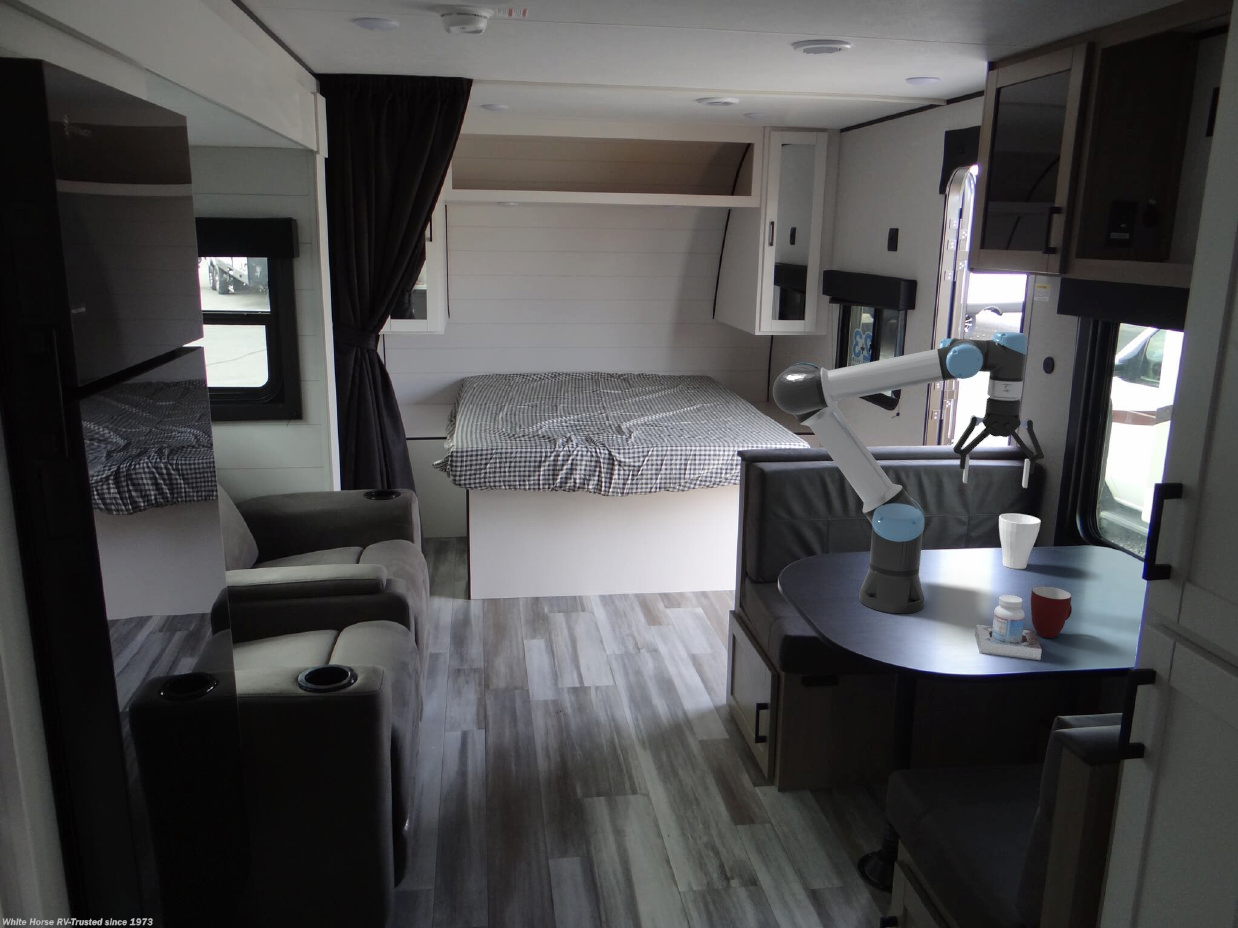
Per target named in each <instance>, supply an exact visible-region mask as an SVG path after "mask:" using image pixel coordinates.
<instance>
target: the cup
mask: <svg viewBox="0 0 1238 928" xmlns="http://www.w3.org/2000/svg"><path fill="white" fill-rule="evenodd" d="M1041 522H1042V521H1041V519H1040V518H1038V517H1035V516H1033V515H1028V514H1022V513H1012V512H1011V513H1001V514H1000V515H999V517H998V529H999V540H1000V544H1001V552H1002V554H1001V555H1002V565H1003V566H1004V567H1006V568H1009V569H1013V570H1025V569H1026V568H1027V564H1028V561H1029V558H1030V554H1031V552H1032V549H1033V547H1034V545H1035V543H1036V540H1037V538H1038V534H1039V532H1040V528H1041Z"/></svg>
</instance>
